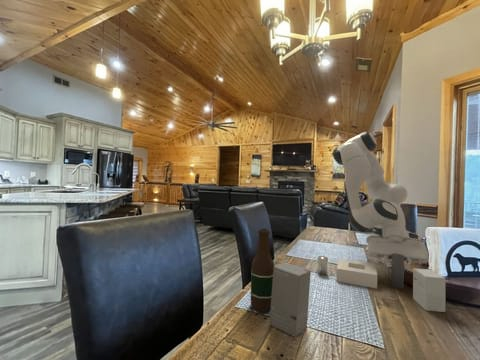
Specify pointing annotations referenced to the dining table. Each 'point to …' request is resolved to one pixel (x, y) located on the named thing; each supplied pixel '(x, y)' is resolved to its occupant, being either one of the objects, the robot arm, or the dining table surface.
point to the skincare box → (290, 298)
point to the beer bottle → (262, 275)
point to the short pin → (322, 265)
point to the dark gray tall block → (397, 271)
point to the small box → (429, 289)
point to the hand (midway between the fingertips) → (397, 269)
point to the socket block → (357, 273)
